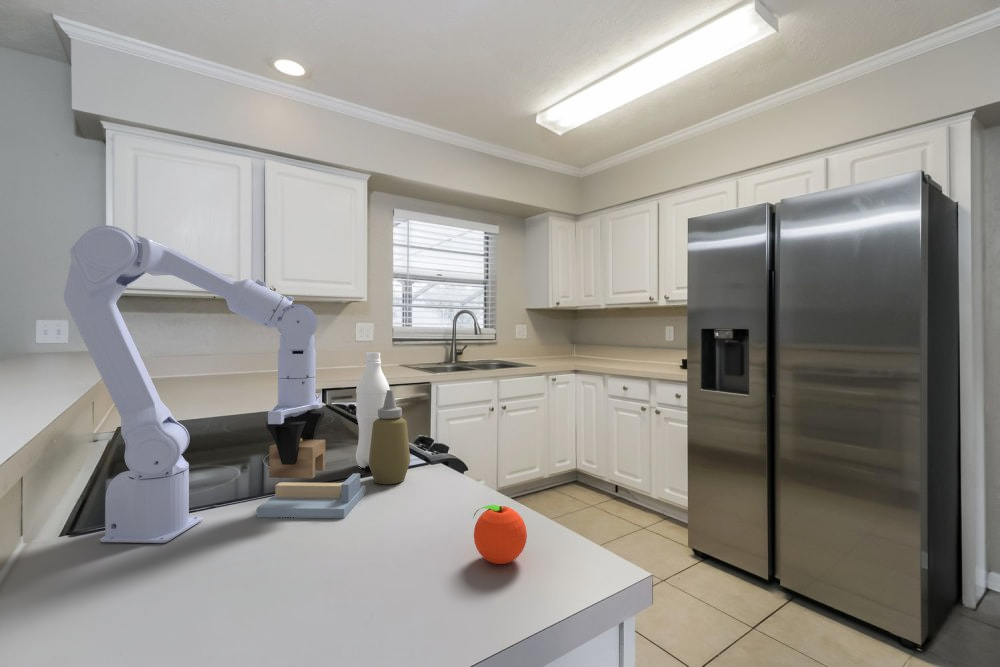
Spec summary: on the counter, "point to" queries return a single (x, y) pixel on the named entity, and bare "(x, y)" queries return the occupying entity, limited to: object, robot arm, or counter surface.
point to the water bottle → (369, 404)
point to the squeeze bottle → (389, 444)
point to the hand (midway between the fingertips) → (297, 459)
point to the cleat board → (313, 499)
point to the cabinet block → (299, 460)
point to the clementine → (500, 534)
